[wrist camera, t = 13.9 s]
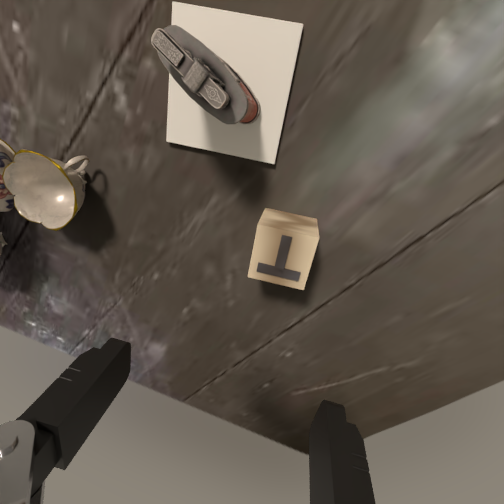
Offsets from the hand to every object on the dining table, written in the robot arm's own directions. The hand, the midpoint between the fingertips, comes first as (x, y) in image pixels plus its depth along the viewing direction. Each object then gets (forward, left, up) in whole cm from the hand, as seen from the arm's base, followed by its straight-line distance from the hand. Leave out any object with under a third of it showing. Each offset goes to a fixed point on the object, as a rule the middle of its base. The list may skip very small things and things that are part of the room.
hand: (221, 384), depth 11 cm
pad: (+7, -12, -24) cm, 27 cm away
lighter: (+7, -12, -23) cm, 27 cm away
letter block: (-2, +2, -24) cm, 24 cm away
